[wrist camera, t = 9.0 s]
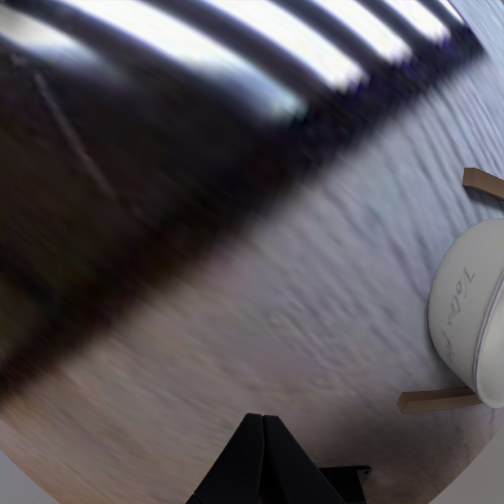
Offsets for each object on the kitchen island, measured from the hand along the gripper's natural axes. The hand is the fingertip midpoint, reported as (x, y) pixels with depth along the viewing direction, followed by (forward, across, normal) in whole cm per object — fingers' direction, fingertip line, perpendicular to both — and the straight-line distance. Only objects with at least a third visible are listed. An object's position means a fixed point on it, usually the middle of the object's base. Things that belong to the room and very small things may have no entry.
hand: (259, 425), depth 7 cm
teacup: (+11, -16, -1) cm, 20 cm away
